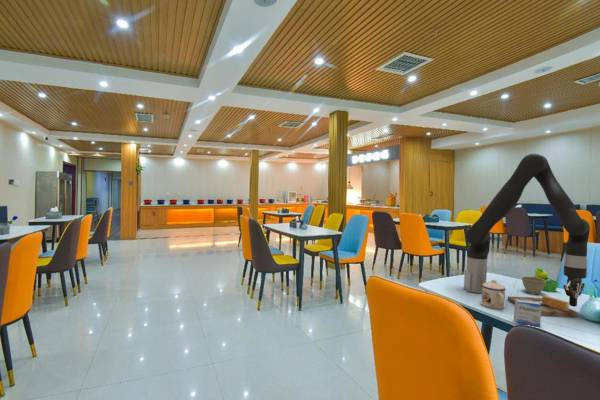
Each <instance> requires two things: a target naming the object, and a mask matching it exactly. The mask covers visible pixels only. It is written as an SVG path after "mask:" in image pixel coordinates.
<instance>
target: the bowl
mask: <svg viewBox="0 0 600 400" xmlns="http://www.w3.org/2000/svg"><path fill="white" fill-rule="evenodd" d="M521 280H522V284H523V287H524V289H525V291H526V293H528V294H531V295H532V294H533V295H540V294H541V293H542V292H543V291H544V290H543V288H544V286H545V283H546V280H544V279H541V278H536V277H533V276H522V277H521Z"/></svg>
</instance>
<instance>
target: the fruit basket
mask: <svg viewBox="0 0 600 400" xmlns="http://www.w3.org/2000/svg"><path fill="white" fill-rule="evenodd" d="M534 272H535V273H534V275H533V276H532V277H536V278H541V279H544V280H546V283H545V286H544V288H543V290H542V291H544V292H553V293H554V292H556V290H557V289H558V286H559V284H560V282H559V281H556V280H554V279H552V278H550V277H548V275H549V273H548V272H546V271H545V270H544V269H543V268H541V267H536V269H535V270H534Z"/></svg>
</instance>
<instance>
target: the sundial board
mask: <svg viewBox="0 0 600 400" xmlns="http://www.w3.org/2000/svg"><path fill="white" fill-rule="evenodd" d="M542 298H543V297H532V296H531V297H529V296H507V302H508V303H511V304H513V305H514V306H515V299H521V300H529V301H534V299H540V300H542ZM541 317H558V318H559V317H560V318H579V312H578V311H576V310H573V309H571V308H569V309H568V311H564V310H561V309H558V308H554V307H551V306H548V305H541Z"/></svg>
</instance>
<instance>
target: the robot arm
mask: <svg viewBox="0 0 600 400" xmlns="http://www.w3.org/2000/svg"><path fill="white" fill-rule="evenodd" d="M549 163H550V162H548V159H547V157H545V156H544V155H541V154H538V153H529V154H527V155H524V157H523V158H522V159H521V160H520V162H519V164H518V165H517V167H516V169H515V170H514V172H513V174H512V175H511V176H510V178H509V179H508V180H507V181H506V182H505V183H504V184H503V186H502V187H501V189H500V190H499V191H498V192H497V193H496V195H495V196H494V197H493V198H492V200H491V201H490V202H489V204H488V205H487V206H486V208H485V209H484V211H483V213H482V214H481V215H480V216H479V218H477V220H476V221H475V222H474V223H473V224H472V225H471V226H470V227H469V228H468V229H467V231H466V233H465V239H466V242H468V243H469V248H468V250H467V252H466V268H465V269H466V270H464V274H463V275H464V276H463V278H464V279H463V289H464V290H466V291H467V292H470V293H476V294H482V290H483V286H482V285H483V283H487V273H488V271H487V270H488V256H489V253H490V246H491V245H490V244H491V234H490V232H491V230H492V229H493V227H495V226H496V224H497V223H499V222H500V221H501V220H502V219H505V217H506V216H507V215H508V214H509V213H510V212H512V209H514V207H515V206H517V203H518V202H519V201H520V199H521V197H522V194H523V192H524V190H525V188H526V186H527V185H528V184H529V183H530V181H531V180H532V179H533V178H535V179H536V181H537V182H538V183H539V185H540V187H541V188H542V190H543V192H544V194H545V197H546V199H547V201H548V202H549V204H550V206H551V207H552V209H553V210H554V212H555V214H556V215H558V219H559V221H560V222H561V225H562V227H563V228H564V230H565V231H566V232H567V233H568V235H567V236H568V238H567V241H566V243H565V249H564V251H565V252H564V259H563V271H562V272H563V275H564V276H565V277H567V278H566V284H563V289H564V292H565V295H566V297H569V300H568V302H569V307H578V298H580V296H581V295H582V292H583V290H584V288H585V284H586V283H584V282H583V280H584V279H587V277H588V276H587V275H588V242H589V236H590V232H591V231H590V230H591V228H590V227H591V226H590V223H589V222H588V221H587V220H586V219H585V218H582V217H581V216H580V215H579V213H578V211H577V207H576V206H575V204H574V202H573V201H572V199H571V198H570V197H569V195H568V194H567V192H566V191H565V190H564V189H563V186H561V184H560V182H559V181H558V180H557V178H556V177H555V174H554V173H553V170H552V169H551V166H550V164H549Z"/></svg>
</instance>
